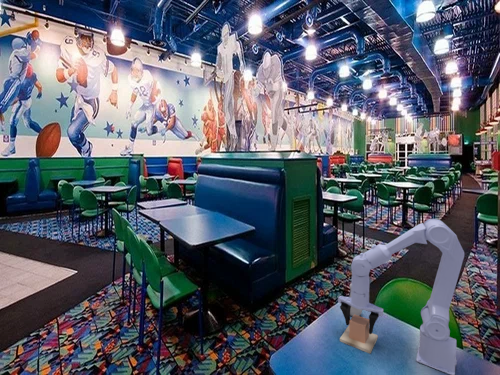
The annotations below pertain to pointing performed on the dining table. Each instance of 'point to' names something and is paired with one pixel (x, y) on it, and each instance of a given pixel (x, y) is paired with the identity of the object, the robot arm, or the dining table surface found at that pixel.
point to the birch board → (359, 345)
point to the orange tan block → (359, 328)
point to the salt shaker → (354, 310)
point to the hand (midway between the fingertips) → (359, 328)
